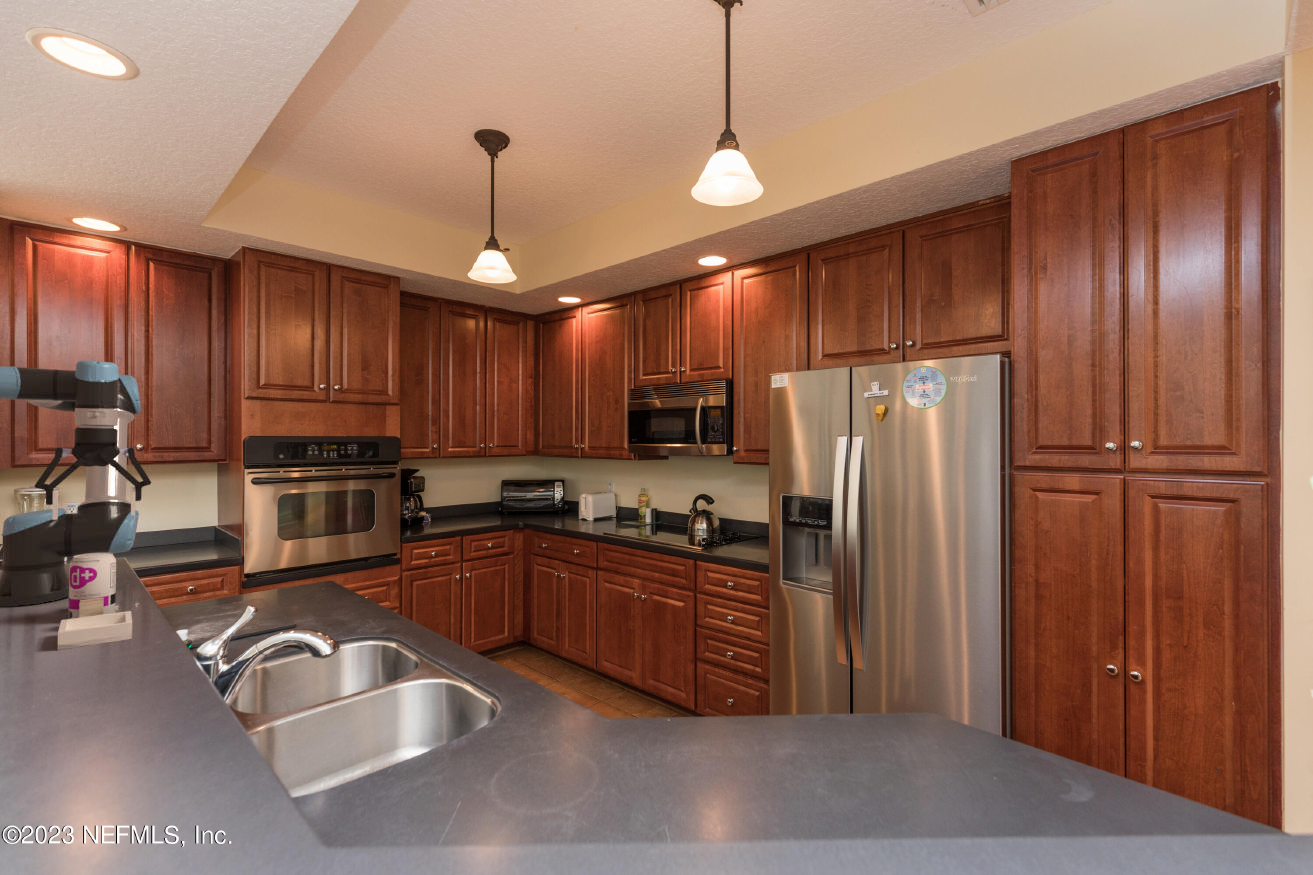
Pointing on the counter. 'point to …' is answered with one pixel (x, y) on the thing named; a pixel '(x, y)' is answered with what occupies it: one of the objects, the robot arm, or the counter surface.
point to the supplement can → (92, 581)
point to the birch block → (91, 607)
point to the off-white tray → (94, 630)
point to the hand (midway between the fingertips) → (95, 516)
